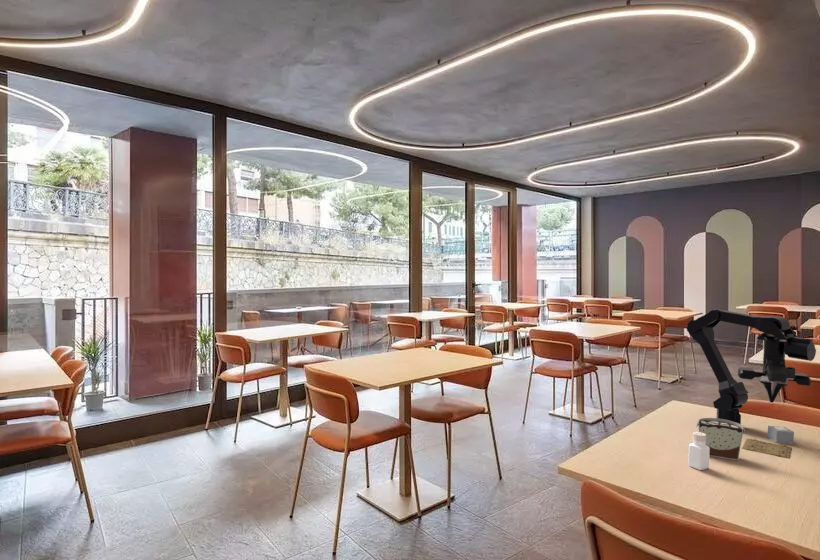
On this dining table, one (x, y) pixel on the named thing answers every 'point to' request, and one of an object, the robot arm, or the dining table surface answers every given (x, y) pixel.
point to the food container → (722, 437)
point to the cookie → (767, 448)
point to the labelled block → (780, 434)
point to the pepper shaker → (698, 452)
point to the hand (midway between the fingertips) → (771, 402)
